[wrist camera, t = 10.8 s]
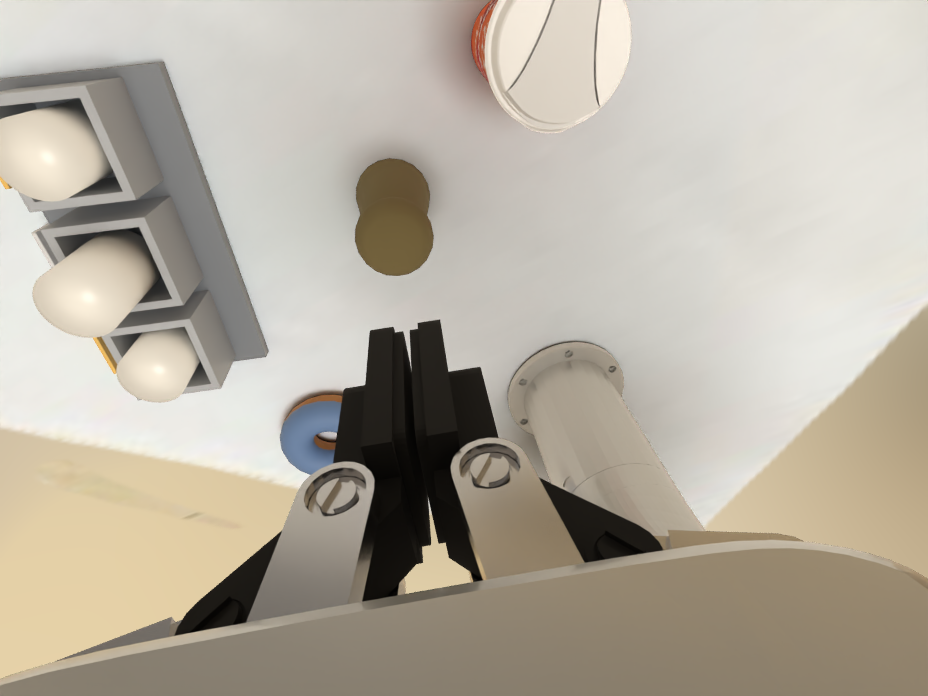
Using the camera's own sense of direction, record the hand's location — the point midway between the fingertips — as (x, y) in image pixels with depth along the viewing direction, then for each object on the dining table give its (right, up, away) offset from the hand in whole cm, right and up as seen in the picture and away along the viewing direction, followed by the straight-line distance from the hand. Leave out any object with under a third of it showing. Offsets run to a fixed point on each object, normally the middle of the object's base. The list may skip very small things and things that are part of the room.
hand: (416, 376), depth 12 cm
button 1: (-25, +15, +23) cm, 37 cm away
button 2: (-24, +2, +32) cm, 40 cm away
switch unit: (-24, +9, +29) cm, 39 cm away
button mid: (-24, +7, +25) cm, 35 cm away
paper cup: (+4, +23, +24) cm, 34 cm away
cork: (-5, +13, +29) cm, 33 cm away
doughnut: (-13, -7, +42) cm, 45 cm away
